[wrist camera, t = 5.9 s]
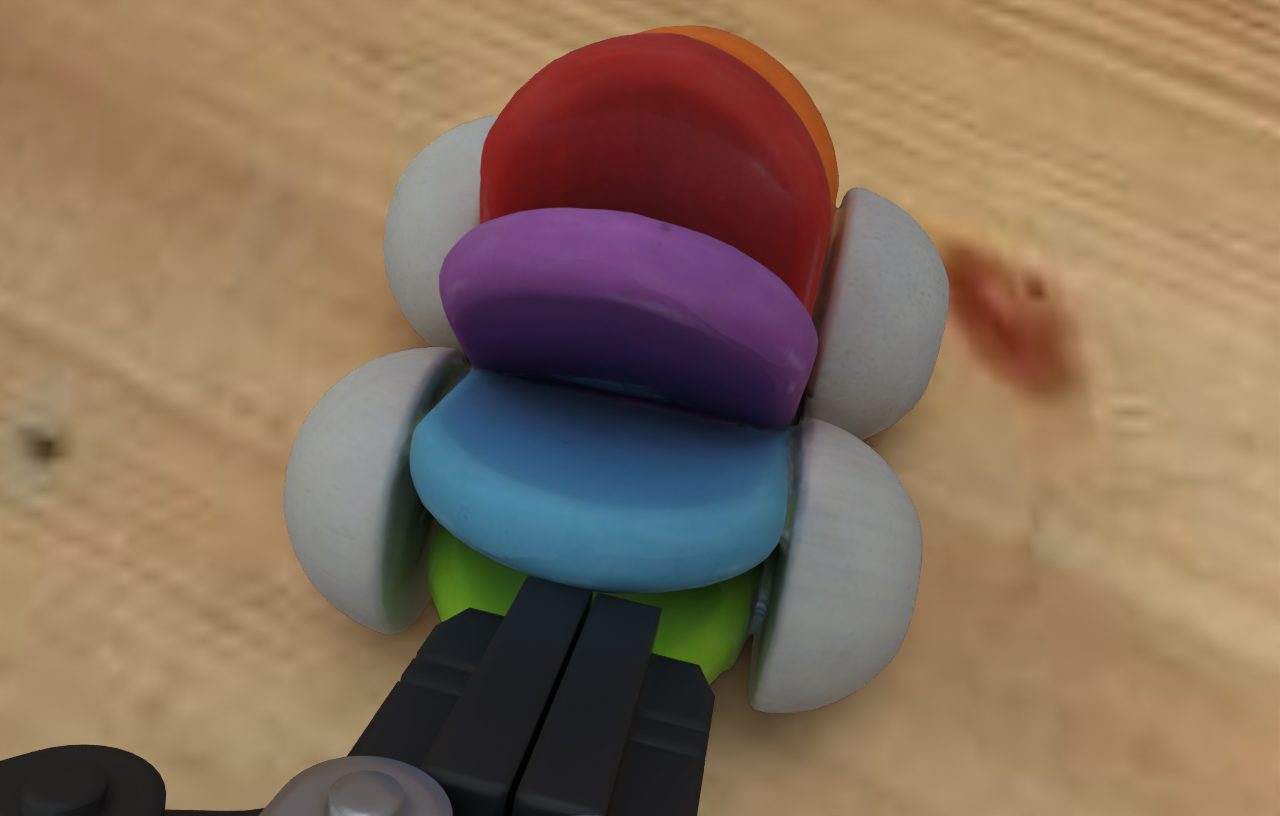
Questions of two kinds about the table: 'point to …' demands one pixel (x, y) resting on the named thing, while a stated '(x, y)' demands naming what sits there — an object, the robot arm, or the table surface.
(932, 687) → the table surface
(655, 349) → the rainbow wheeled toy
